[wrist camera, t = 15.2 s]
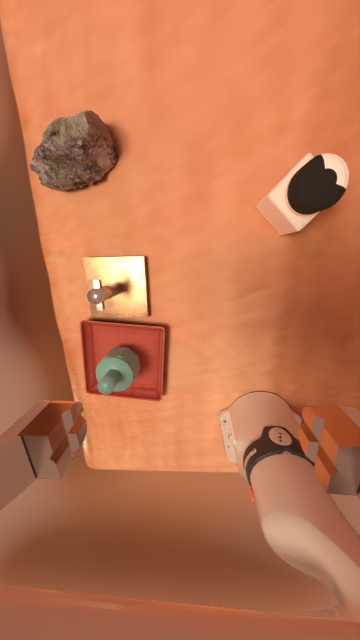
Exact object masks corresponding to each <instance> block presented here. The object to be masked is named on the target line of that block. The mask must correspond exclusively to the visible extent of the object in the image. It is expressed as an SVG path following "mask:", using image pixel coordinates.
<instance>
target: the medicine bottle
mask: <svg viewBox="0 0 360 640" xmlns="http://www.w3.org/2000/svg"><path fill="white" fill-rule="evenodd" d="M348 181H349V170H348V167H347V164H346V163H345V161H344V160H343V159H342V158H341V157H340V156H338V155H336V154H332V153H325V154H320V155H318V156H316V157H314V156H313V155H312V154H311V153H307V154H306V155H305V156H304V157H303V158H302V159H301V160H300V161H299V162H298V163H297V164H295V165H294V166H293V167H292V168H291V169H290V170H289V171H288V172H287V173H286V174H285V175H284V176H283V177H282V178H281V179H280V180H279V181H278V182H277V183H276V185H275V186H274V187H273V188H272V189H271V190H270V191H269V192H268V193H267V194H266V195H265V196H264V197H263V198H262V199H261V200H260V201H259V202H258V204H257V205H256V209H257V210H258V211H259V212H260V214H261V215H262V216H263V217H264V218H265V219H266V220H267V221H268V223H269V224H270V225H271V226H272V227H273V228H274V229H275V231H276V232H277V233H278V234H279V235H280V236H283V235H286V234H290V233H294V232H298V231H300V230H301V229H302V228H303V227H305V226H306V225H307V224H308V223H309V222H310V221H311V220H312V219H313V218H314V217H315V216H316V215H317V214H318V213H319V212H320V211H322V210H325V209H327V208H329V207H331V206H333V205H334V204H335V203H336V202H338V201H339V199H340V198H341V197H342V196H343V194H344V192H345V191H346V188H347V185H348Z"/></svg>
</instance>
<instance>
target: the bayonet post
mask: <svg viewBox="0 0 360 640" xmlns="http://www.w3.org/2000/svg"><path fill="white" fill-rule="evenodd" d="M83 262H84V269H85V276H86V282H87V289H88V294H87V298H88V300H89V302H90V308H91V315H92V317H146V318H148V317H149V300H148V285H147V269H146V257H145V256H143V257H90V258H83Z"/></svg>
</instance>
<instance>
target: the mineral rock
mask: <svg viewBox="0 0 360 640" xmlns="http://www.w3.org/2000/svg"><path fill="white" fill-rule="evenodd" d="M116 161H117V154H116V151H115V147H114V142H113V140H112V137H111V135H110V133H109V131H108V129H107V127H106V126H105V124H104V122H103V121H102V120H101V119H100V117H99V116H98V115H97V114H95V113H94V112H93V111H87V110H85V111H84V112H81V113H80V114H74V115H72V116H70V117H66V118H65V117H63V118H57V119H55V120H54V121H53V122H52V123H51V124H50V125H49V126H48V127H47V129H46V131H45V132H43V141H42V143H41V144H40V145H39V146H38V147H37V148H36V149H35V151H34V157H33V158H32V161H31V163H30V169H31V170H32V171H34V172H35V173H36V174H38V176H39V180H40V181H41V184H42V185H44V186H46V187H48V188H50V189H55V190H60V191H65V190H68V189H72V188H73V189H75V188H77V187H79V188H82V187H83V186H84V185H87V184H89V185H92V184H93V182H95V181H99V180H101V179H102V178H103V176H104V175H105V173H106V172H108V171H109V170H110V169H111V168H112V167H113V166H114V164H115V162H116Z"/></svg>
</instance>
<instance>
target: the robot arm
mask: <svg viewBox="0 0 360 640" xmlns="http://www.w3.org/2000/svg"><path fill="white" fill-rule="evenodd" d="M83 411H84V410H83V407H82V403H80V402H72V401H45V400H42V401H39V402H37V403H36V404H35V405H34V406H32V407H31V409H29V410H28V411H27V412H26V413H25V414H24V415H23V416H22V417H21V418H19V419H18V420H17V421H16V422H15V423H14V424H13V425H12V426H11V427H10V428H9V429H8V430H6V431H5V432H4V433H3V434H2V435H0V510H2V509H3V508H4V507H5V506H6V505H7V504H9V503H10V502H11V501H12V500H13V499H14V498H15V497H17V496H18V495H19V494H20V493H21V492H23V491H24V490H25V489H26V488H27V487H29V486H30V485H31V484H32V483H33V482H34V481H36V479H61V478H62V476H63V474H64V473H65V471H66V470H67V468H68V466H69V465H70V463H71V461H72V460H73V457H72V453H73V452H74V451H76V450H77V449H79V448H80V446H81V445H82V443H83V441H84V439H85V435H86V432H87V424H86V420H85V419H84V418H83V417H82V416H81V414H82V412H83ZM301 416H302V417H303V419H304V420H305V421H304V422H303V423H302V424H301V422H302V420H301V418H300V416H299V415H298V414H297V413H295V412H294V411H292V410H291V409H290V408H289V406H288V405H287V403H286V402H285V401H284V400H283V399H282V398H281V397H279V396H277V395H275V394H272V393H268V392H253V393H249V394H246V395H244V396H242V397H240V398H239V399H237V400H236V401H235V402H234V403H233V404H232V405H231V406H230V407H229V408H227V409H225V410H223V411H221V412H220V413H219V420H220V425H221V430H222V435H223V441H224V446H225V451H226V456H227V459H228V461H230V462H231V463H233V464H236V465H237V467H238V472H239V474H240V475H241V476H242V477H244V478H246V479H247V481H248V482H249V484H250V486H251V488H250V498H251V500H252V502H256V506H257V511H258V515H259V519H260V523H261V527H262V531H263V533H264V536H265V538H266V540H267V542H268V543H269V545H270V546H271V548H272V549H273V550H274V552H275V553H276V554H277V555H278V556H279V557H280V558H282V559H283V560H284V561H285V562H287V563H288V564H289V565H291V566H293V567H294V568H296V569H298V570H300V571H302V572H304V573H306V574H308V575H310V576H312V577H314V578H316V579H317V580H319V581H320V582H322V583H323V584H324V585H325V586H326V587H327V588H328V589H330V590H331V591H332V593H333V594H334V595H335V596H336V597H337V599H338V600H339V602H340V603H339V605H338V606H336V607H334V609H335V611H336V614H337V616H338V619H337V617H336V615H335V612H334V610H333V609H326V610H315V611H304V612H291V613H270V612H259V611H250V610H241V609H231V608H221V607H211V606H202V605H191V604H181V603H172V602H161V601H152V600H143V599H132V598H123V597H113V596H103V595H93V594H82V593H73V592H64V591H63V592H62V591H54V590H43V589H34V588H23V587H14V586H4V585H0V640H360V535H359V534H358V533H357V532H356V531H355V530H354V529H353V527H352V526H351V525H350V523H349V522H348V521H347V519H346V518H345V517H344V515H343V514H342V512H341V511H340V509H339V508H338V506H337V505H336V503H335V502H334V500H333V499H332V497H331V495H330V494H329V493H331V494H343V495H356V496H358V498H359V499H360V411H359V410H358V409H356V408H354V407H352V406H336V407H316V406H305V407H304V408H303V410H302V415H301ZM224 420H225V421H224ZM300 424H301V425H300Z"/></svg>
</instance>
